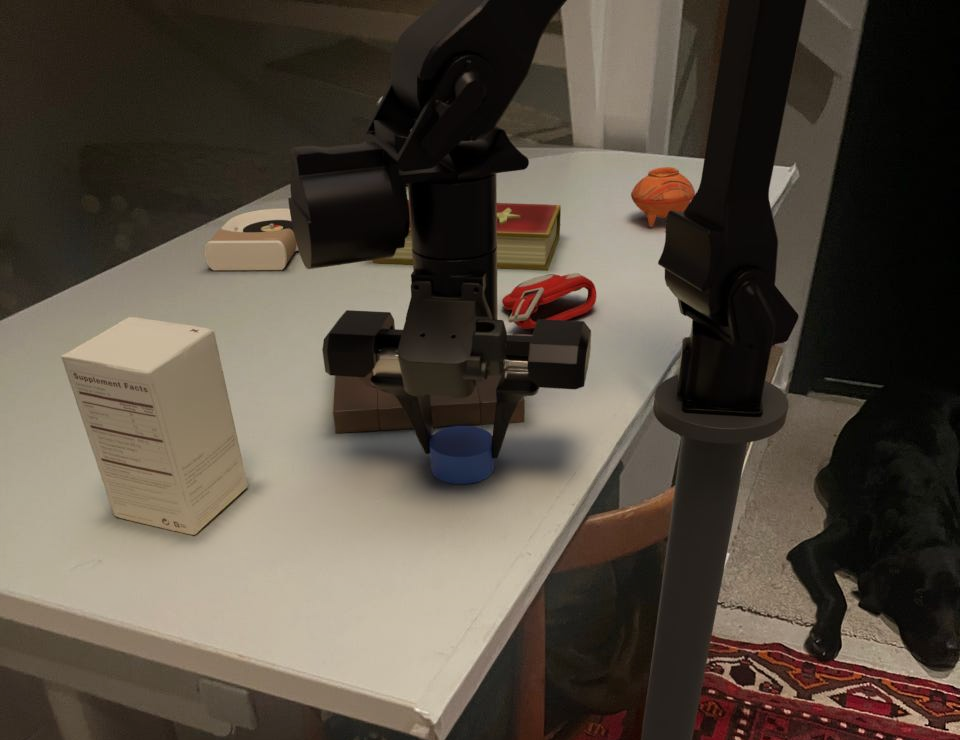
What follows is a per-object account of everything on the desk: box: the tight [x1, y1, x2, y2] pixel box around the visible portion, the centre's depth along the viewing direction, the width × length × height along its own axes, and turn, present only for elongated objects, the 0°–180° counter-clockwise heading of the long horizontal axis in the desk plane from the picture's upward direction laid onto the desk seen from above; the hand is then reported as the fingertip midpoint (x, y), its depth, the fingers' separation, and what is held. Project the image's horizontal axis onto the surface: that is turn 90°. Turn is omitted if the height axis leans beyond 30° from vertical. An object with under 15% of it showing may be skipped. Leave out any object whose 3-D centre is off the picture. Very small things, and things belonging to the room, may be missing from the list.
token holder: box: [332, 370, 526, 434], centre depth 84 cm, size 16×16×2 cm
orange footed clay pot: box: [630, 166, 696, 228], centre depth 118 cm, size 8×8×7 cm
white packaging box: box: [60, 316, 249, 536], centre depth 66 cm, size 7×7×13 cm
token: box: [429, 425, 495, 485], centre depth 72 cm, size 5×5×2 cm
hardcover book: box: [371, 199, 562, 271], centre depth 112 cm, size 12×21×4 cm, turn 80°
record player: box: [204, 208, 299, 271], centre depth 115 cm, size 12×3×20 cm
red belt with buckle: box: [501, 272, 597, 330], centre depth 95 cm, size 12×4×10 cm
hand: (461, 454), depth 72 cm, fingers closed on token, 5 cm apart
